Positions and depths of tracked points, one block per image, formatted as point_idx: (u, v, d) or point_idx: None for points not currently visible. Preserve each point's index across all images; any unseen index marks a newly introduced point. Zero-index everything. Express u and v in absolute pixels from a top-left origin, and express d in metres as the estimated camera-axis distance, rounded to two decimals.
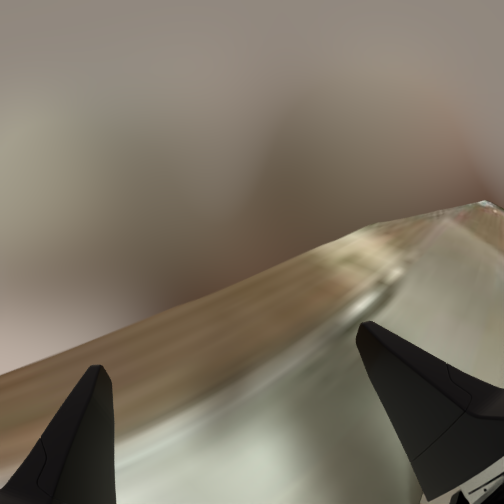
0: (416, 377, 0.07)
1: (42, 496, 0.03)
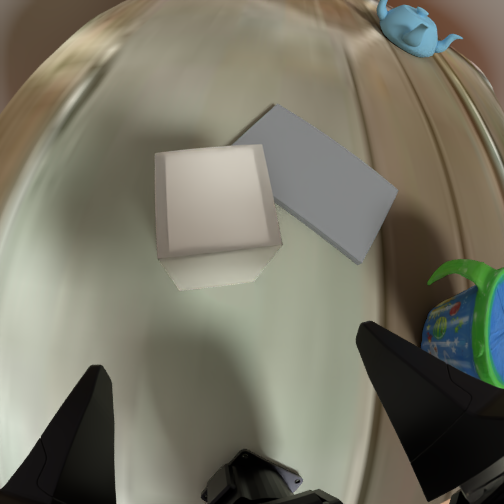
0: (416, 377, 0.07)
1: (42, 496, 0.03)
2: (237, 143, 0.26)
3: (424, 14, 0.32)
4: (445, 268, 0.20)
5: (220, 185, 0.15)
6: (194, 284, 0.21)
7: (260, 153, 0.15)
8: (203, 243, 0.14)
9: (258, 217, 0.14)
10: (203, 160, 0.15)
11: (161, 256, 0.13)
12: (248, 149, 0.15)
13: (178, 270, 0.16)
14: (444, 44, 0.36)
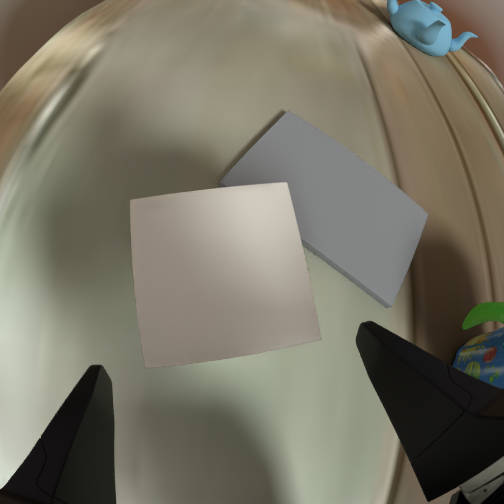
0: (416, 377, 0.07)
1: (42, 497, 0.03)
2: (242, 162, 0.22)
3: (438, 10, 0.28)
4: (484, 312, 0.16)
5: (229, 252, 0.10)
6: None
7: (285, 197, 0.11)
8: (209, 346, 0.09)
9: (287, 301, 0.10)
10: (202, 212, 0.10)
11: (150, 365, 0.09)
12: (267, 191, 0.11)
13: None
14: (458, 42, 0.31)
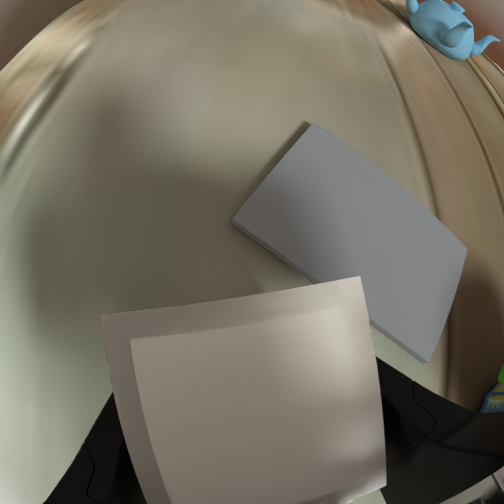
0: None
1: None
2: (260, 191, 0.17)
3: (460, 10, 0.23)
4: None
5: (275, 405, 0.06)
6: None
7: (358, 303, 0.06)
8: None
9: (352, 457, 0.05)
10: (227, 342, 0.06)
11: None
12: (332, 297, 0.06)
13: None
14: (480, 46, 0.27)
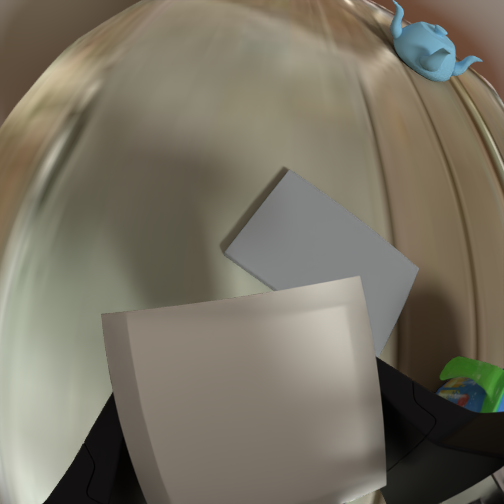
0: None
1: None
2: (245, 230, 0.24)
3: (443, 34, 0.30)
4: (459, 368, 0.18)
5: (275, 405, 0.06)
6: None
7: (358, 303, 0.06)
8: None
9: (352, 456, 0.05)
10: (227, 342, 0.06)
11: None
12: (331, 296, 0.06)
13: None
14: (462, 66, 0.33)
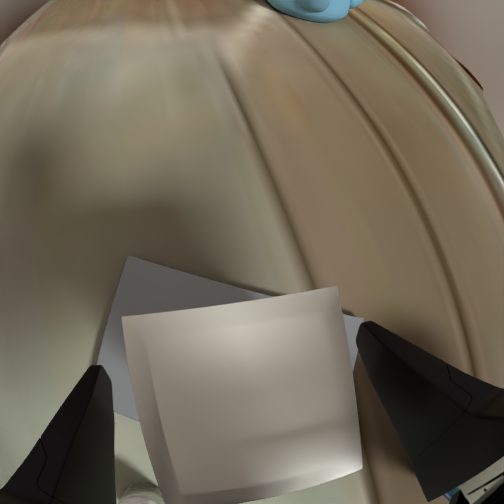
0: (416, 377, 0.07)
1: (42, 496, 0.03)
2: None
3: None
4: None
5: (263, 392, 0.07)
6: None
7: (335, 308, 0.08)
8: (239, 490, 0.06)
9: (330, 440, 0.07)
10: (225, 339, 0.07)
11: None
12: (312, 303, 0.08)
13: None
14: None
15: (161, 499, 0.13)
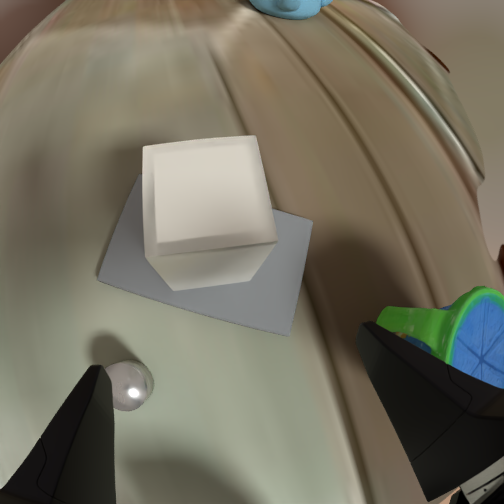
0: (416, 377, 0.07)
1: (42, 496, 0.03)
2: (109, 252, 0.22)
3: None
4: (388, 321, 0.18)
5: (211, 178, 0.14)
6: (187, 284, 0.20)
7: (254, 144, 0.15)
8: (193, 240, 0.13)
9: (252, 212, 0.13)
10: (194, 153, 0.14)
11: (149, 255, 0.12)
12: (240, 141, 0.14)
13: (169, 269, 0.15)
14: None
15: (144, 370, 0.19)
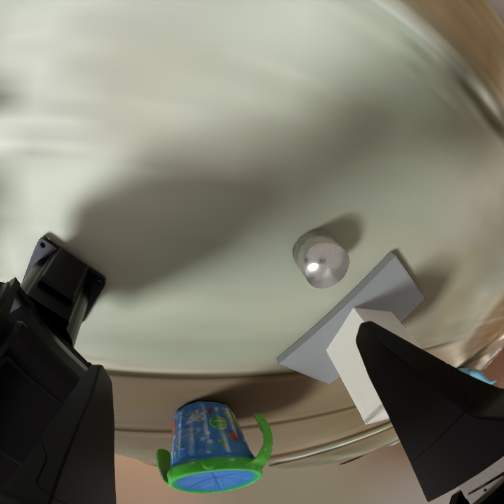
0: (416, 377, 0.07)
1: (42, 497, 0.03)
2: (402, 270, 0.26)
3: None
4: (266, 430, 0.27)
5: None
6: (356, 331, 0.26)
7: None
8: None
9: (383, 416, 0.21)
10: None
11: None
12: None
13: None
14: None
15: None
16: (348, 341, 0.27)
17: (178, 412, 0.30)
